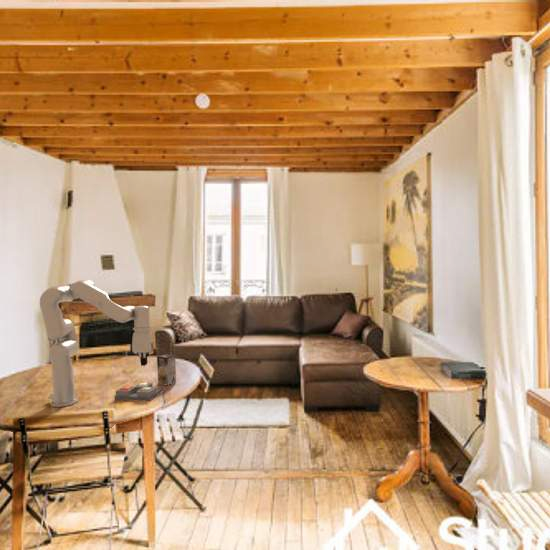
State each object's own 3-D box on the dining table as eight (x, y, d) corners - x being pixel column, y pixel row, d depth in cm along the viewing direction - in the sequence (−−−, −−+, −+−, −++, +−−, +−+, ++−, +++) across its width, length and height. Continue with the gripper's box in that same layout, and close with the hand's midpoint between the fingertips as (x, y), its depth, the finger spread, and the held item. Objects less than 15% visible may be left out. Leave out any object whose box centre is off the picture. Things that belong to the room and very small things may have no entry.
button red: (119, 393, 206) (118, 389, 206) (124, 390, 210) (124, 386, 210) (127, 393, 205) (127, 389, 205) (132, 390, 209) (132, 386, 209)
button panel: (114, 399, 205) (114, 391, 204) (131, 389, 219) (130, 381, 219) (149, 401, 200) (149, 392, 200) (164, 391, 215) (163, 382, 215)
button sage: (139, 393, 203) (139, 390, 203) (144, 390, 208) (144, 386, 208) (148, 394, 202) (148, 390, 202) (153, 391, 207) (152, 387, 207)
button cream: (136, 388, 211) (136, 385, 211) (141, 386, 216) (141, 382, 216) (145, 389, 210) (144, 385, 210) (149, 386, 215) (149, 382, 215)
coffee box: (157, 383, 229) (156, 356, 228) (166, 380, 234) (164, 353, 233) (168, 386, 223) (166, 357, 223) (177, 382, 229) (175, 355, 228)
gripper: (125, 331, 202) (127, 366, 203) (151, 331, 199) (153, 367, 199) (133, 328, 209) (135, 362, 210) (159, 328, 206) (160, 363, 207)
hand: (144, 365), depth 205 cm, fingers closed
